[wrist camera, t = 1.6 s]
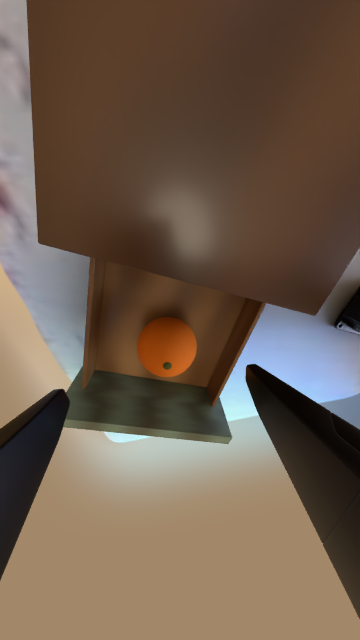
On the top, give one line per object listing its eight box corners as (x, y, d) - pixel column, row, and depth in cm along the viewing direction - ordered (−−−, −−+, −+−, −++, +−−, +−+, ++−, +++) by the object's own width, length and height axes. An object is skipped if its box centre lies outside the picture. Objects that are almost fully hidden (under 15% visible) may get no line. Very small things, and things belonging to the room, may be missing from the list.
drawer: (264, 283, 20) (313, 309, 13) (209, 398, 28) (223, 452, 21) (92, 234, 17) (43, 236, 10) (82, 379, 25) (50, 436, 18)
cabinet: (354, 81, 14) (591, -109, 6) (259, 284, 21) (315, 316, 13) (116, -52, 11) (-13, -776, 3) (95, 238, 18) (37, 243, 10)
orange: (199, 314, 20) (211, 346, 15) (184, 356, 23) (190, 397, 17) (146, 302, 19) (138, 331, 14) (136, 347, 22) (126, 388, 16)
